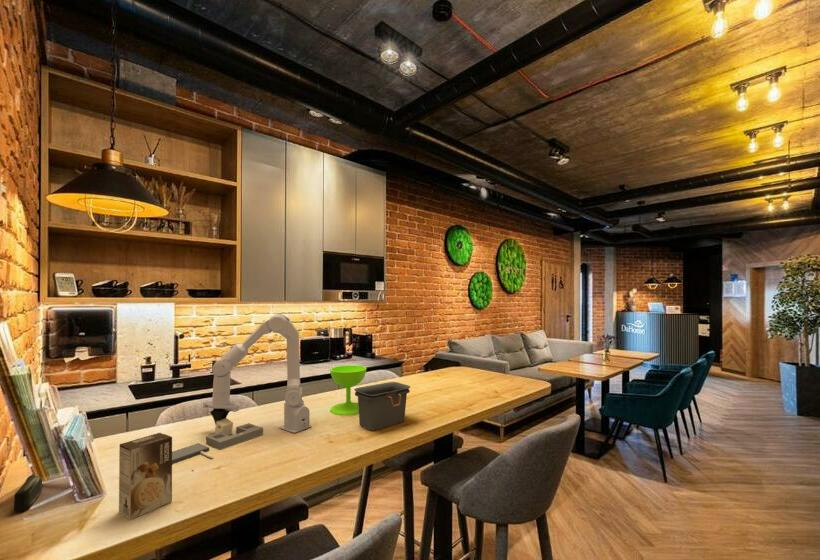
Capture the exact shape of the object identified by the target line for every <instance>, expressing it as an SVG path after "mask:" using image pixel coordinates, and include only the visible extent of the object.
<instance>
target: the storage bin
mask: <svg viewBox="0 0 820 560" xmlns="http://www.w3.org/2000/svg"><path fill="white" fill-rule="evenodd" d="M410 388H411V386H410V385H409V384H406V383H405V384H404V383H400V382H398V381H390V382H389V381H388V382H383V383H377V384H373V385H372V384H370V385H365V386H360V387H355V388H354V389H353V390H354V391H355V392H354V396H355V397H357V403H358V407H359V414H358V420H359V426H361V427H363V428H365V429H367V430H369V431H377V430H379V429H383V428H387V427H389V426H393V425H398V424H401V423H403V422H405V417H406V407H407V405H406V404H407V396H408V394H409V393H410V392H411V391H410Z"/></svg>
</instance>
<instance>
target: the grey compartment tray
mask: <svg viewBox="0 0 820 560" xmlns="http://www.w3.org/2000/svg"><path fill="white" fill-rule="evenodd" d="M235 432H236V433H235V434H233V435H232V434H231V435H230V434H229V435H227V434H224V433H221V432H219V433H216V434H215V433H213V434H211V435H207V436H205V444H206V445H208V446H211V447H214V448H215V449H218V450H223V449H226V448H229V447H232V446H235V445H238V444H241V443H243V442H245V441H249V440H251V439H254V438H257V437H260V436H263V435H264V427H261V426H259V425H256V424H252V423H250V422H249V423H246V424H245V423H244V424H242V425H238V426H236V431H235Z"/></svg>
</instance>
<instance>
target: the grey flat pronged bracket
mask: <svg viewBox="0 0 820 560" xmlns="http://www.w3.org/2000/svg"><path fill="white" fill-rule="evenodd" d="M208 452H210V447H208V446H206V445H204V444H202V443H199V442H197V443H196V444H192V445H188V446H186V447H185V446H184V447H183V448H182V447H181V448H180V449H179V448H178V449H177V450H172V465H173V464H176V463H179V462H182V461H185V460H187V458H188V459H191V458H193V457H196V456H200V455H202V456H205V457H207V458H209V459H212V460H213V459H214V455H211V454H209V453H208ZM190 457H191V458H190Z"/></svg>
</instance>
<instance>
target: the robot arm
mask: <svg viewBox="0 0 820 560" xmlns="http://www.w3.org/2000/svg"><path fill="white" fill-rule="evenodd" d="M272 332H274V333H276V334H280V335H281V336H282V337H283V338H285V339H286V358H287V359H286V360H287V361H286V365H287V366H286V371H287V372H286V374H287V377H286V379H287V382H286V383H287V384H286V392H285V394H284V401H285V402H284V404H283V405H284V406H283V408H284V409H283V412H284V413H283V414H284V415H283V425H281V426H278V428H279V429H281V430H284V431H287V432H290V433H294V434H295V433H298V432H301V431H304V430H306V429H309V428H311V427H312V425H311V424H310V409H309V408H308V407H307V406H306V405H305V401H304V400H303V395H304V389H303V387H302V384H301V373H300V372H301V371H300V370H301V369H300V368H301V367H300V332H299V330H298V328H297V327H295V325H294V324H293V322H292V321H291V319H290V318H289V317H287V316H286V315H285V314H282V313H277V314H274V315H273V316H271V317H269V319H267V320H266V321H264V322H262V324H260V325H259V326H258V327H257V328H256V329H255V330H254V331H253V332H251V334H249V336H248V337H246V339H245V340H244V341H243V342H241V343H240V342H239V343H238V342H237V343H236V344H232V345H231V346H230V348H229V350H228V351H227V352H226V353H225V354H222V355H221V356H220V359H219V360H217V361H215V362H214V364H213V365H212V368H211V369H212V374H213V382H212V399H211V401H208V400H206V401H203V402H202V408H204V409H206V408H208V409H212V410H210V415H211V416H212V418H213V421H214V424H215V426H216V422H217V421H220V420H222V419H225V418H227V417H228V415H229V413H231V412H233V413H236V412H238V411H240V405H239V404H235V403H233V402H231V399H230V398H231V381H232V380H231V371H232V370H233V368H234V367H236V366H238V364H239V363H240V362H241V361H242V360H243V359H244V358H245V357H246V356H248V354H249V349H250V348H251V347H252V346H253V345H254V344H255V343H256V342H258V341H259V340H260V339H261V338H262V337H263V336H264V335H267V334H268V335H269V334H271V333H272Z"/></svg>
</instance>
